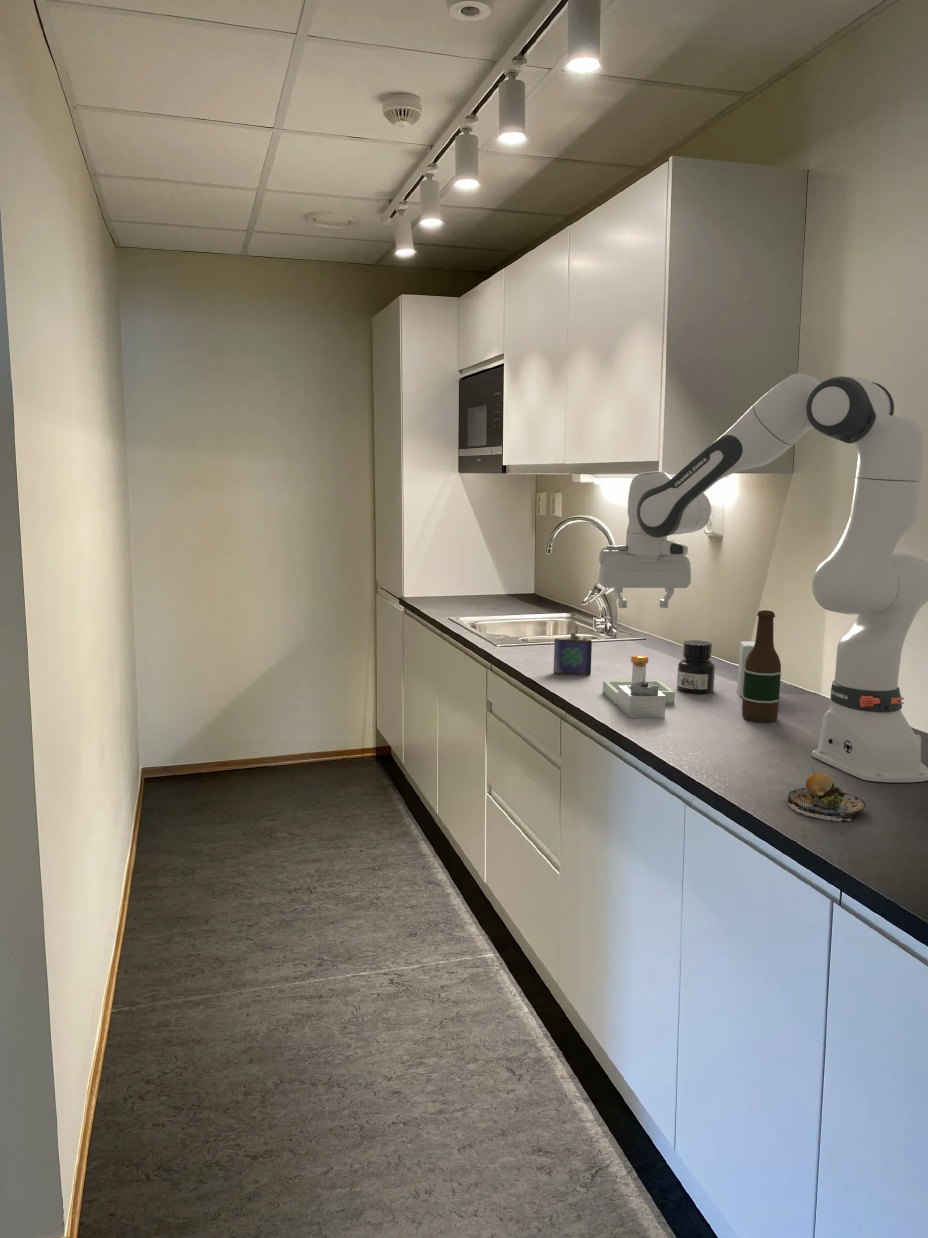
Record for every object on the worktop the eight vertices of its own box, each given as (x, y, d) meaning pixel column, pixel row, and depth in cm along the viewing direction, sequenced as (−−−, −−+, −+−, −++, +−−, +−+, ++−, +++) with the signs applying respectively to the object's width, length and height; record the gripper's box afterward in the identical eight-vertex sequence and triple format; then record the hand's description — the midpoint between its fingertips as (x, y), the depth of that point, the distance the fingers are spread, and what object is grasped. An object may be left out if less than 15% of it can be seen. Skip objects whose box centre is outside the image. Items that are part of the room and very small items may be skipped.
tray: (674, 704, 217) (674, 692, 216) (615, 705, 215) (616, 692, 215) (658, 692, 229) (659, 680, 228) (602, 692, 227) (603, 680, 227)
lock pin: (647, 711, 210) (650, 658, 208) (631, 711, 210) (633, 658, 208) (642, 707, 214) (645, 655, 212) (626, 707, 214) (629, 655, 212)
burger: (865, 827, 144) (869, 781, 143) (785, 816, 148) (788, 771, 147) (863, 802, 155) (867, 759, 154) (788, 793, 159) (791, 750, 158)
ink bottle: (668, 689, 232) (670, 642, 230) (687, 684, 238) (690, 637, 236) (703, 696, 225) (706, 647, 223) (721, 690, 231) (724, 643, 229)
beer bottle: (753, 724, 201) (760, 614, 197) (734, 715, 208) (740, 609, 204) (785, 722, 203) (792, 613, 199) (764, 713, 210) (771, 608, 207)
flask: (552, 674, 247) (554, 631, 245) (553, 672, 250) (555, 629, 248) (590, 676, 245) (592, 633, 243) (591, 674, 248) (592, 631, 246)
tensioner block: (665, 718, 205) (666, 685, 204) (629, 718, 204) (630, 685, 203) (651, 706, 215) (652, 675, 214) (617, 706, 214) (618, 675, 213)
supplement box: (771, 699, 224) (774, 647, 222) (739, 697, 225) (742, 645, 223) (767, 691, 231) (771, 641, 229) (736, 690, 232) (739, 640, 230)
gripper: (603, 546, 201) (601, 609, 204) (695, 547, 203) (691, 609, 206) (596, 544, 208) (594, 605, 210) (685, 544, 210) (682, 605, 212)
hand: (643, 607), depth 208 cm, fingers open, 8 cm apart
